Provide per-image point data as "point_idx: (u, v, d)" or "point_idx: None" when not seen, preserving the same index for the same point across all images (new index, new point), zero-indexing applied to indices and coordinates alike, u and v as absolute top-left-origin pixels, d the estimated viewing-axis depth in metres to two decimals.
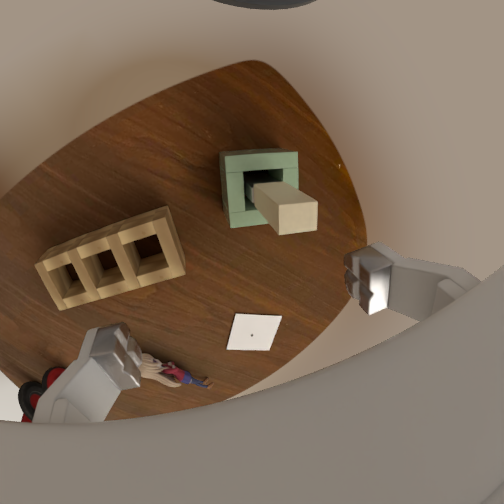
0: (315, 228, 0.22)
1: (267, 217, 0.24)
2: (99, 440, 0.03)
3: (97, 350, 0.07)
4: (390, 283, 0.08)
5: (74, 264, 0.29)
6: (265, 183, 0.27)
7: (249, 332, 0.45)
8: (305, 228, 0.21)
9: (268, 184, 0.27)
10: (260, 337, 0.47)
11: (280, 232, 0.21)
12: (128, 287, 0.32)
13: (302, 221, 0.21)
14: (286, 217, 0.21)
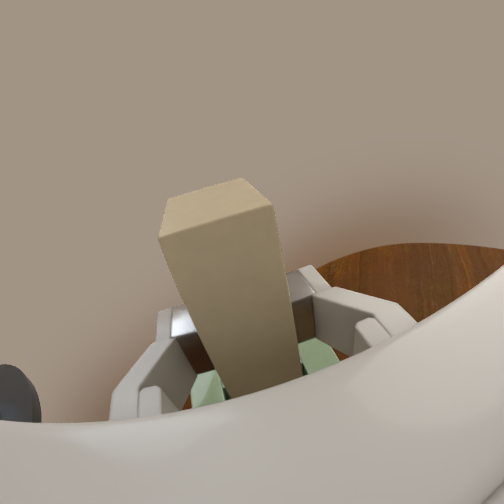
0: (238, 179, 0.08)
1: (279, 325, 0.07)
2: (99, 440, 0.03)
3: (179, 330, 0.07)
4: (314, 314, 0.08)
5: None
6: None
7: None
8: (239, 185, 0.07)
9: None
10: None
11: (261, 204, 0.06)
12: None
13: (221, 193, 0.07)
14: (206, 212, 0.06)
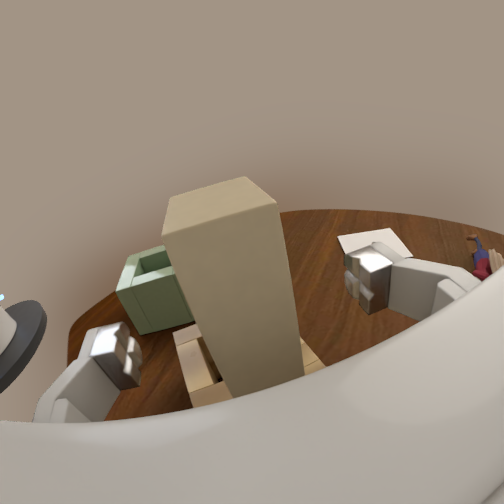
0: (240, 177, 0.08)
1: (282, 324, 0.07)
2: (99, 440, 0.03)
3: (96, 349, 0.07)
4: (390, 283, 0.08)
5: None
6: None
7: None
8: (242, 184, 0.07)
9: None
10: (375, 239, 0.34)
11: (265, 202, 0.06)
12: (312, 363, 0.14)
13: (223, 191, 0.07)
14: (210, 210, 0.06)
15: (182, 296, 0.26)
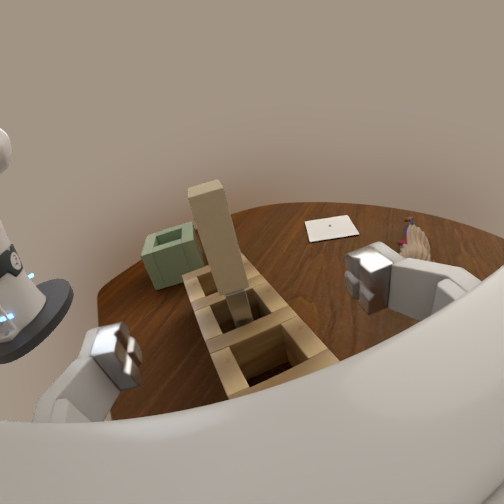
0: (216, 180, 0.20)
1: (228, 232, 0.19)
2: (99, 440, 0.03)
3: (97, 350, 0.07)
4: (390, 283, 0.08)
5: (231, 342, 0.21)
6: None
7: (329, 229, 0.44)
8: (215, 182, 0.20)
9: None
10: (333, 223, 0.46)
11: (219, 187, 0.18)
12: (263, 283, 0.27)
13: (208, 185, 0.19)
14: (203, 190, 0.18)
15: (187, 259, 0.38)
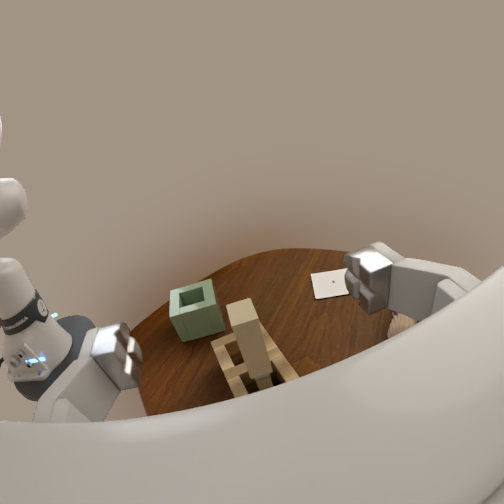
0: (248, 298, 0.26)
1: (260, 343, 0.25)
2: (99, 440, 0.03)
3: (97, 350, 0.07)
4: (390, 283, 0.08)
5: None
6: None
7: (333, 285, 0.50)
8: (249, 304, 0.25)
9: None
10: (336, 277, 0.52)
11: (255, 318, 0.23)
12: (279, 356, 0.32)
13: (244, 308, 0.25)
14: (242, 318, 0.24)
15: (210, 319, 0.44)
